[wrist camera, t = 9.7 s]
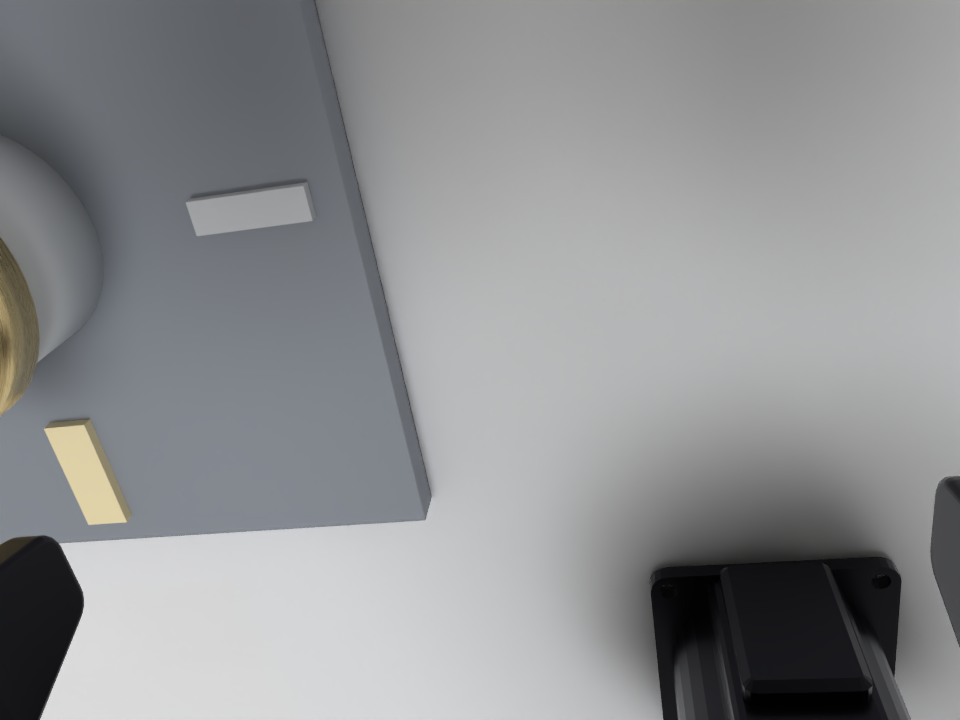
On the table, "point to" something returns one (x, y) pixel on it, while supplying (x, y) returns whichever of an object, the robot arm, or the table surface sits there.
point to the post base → (192, 279)
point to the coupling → (15, 331)
